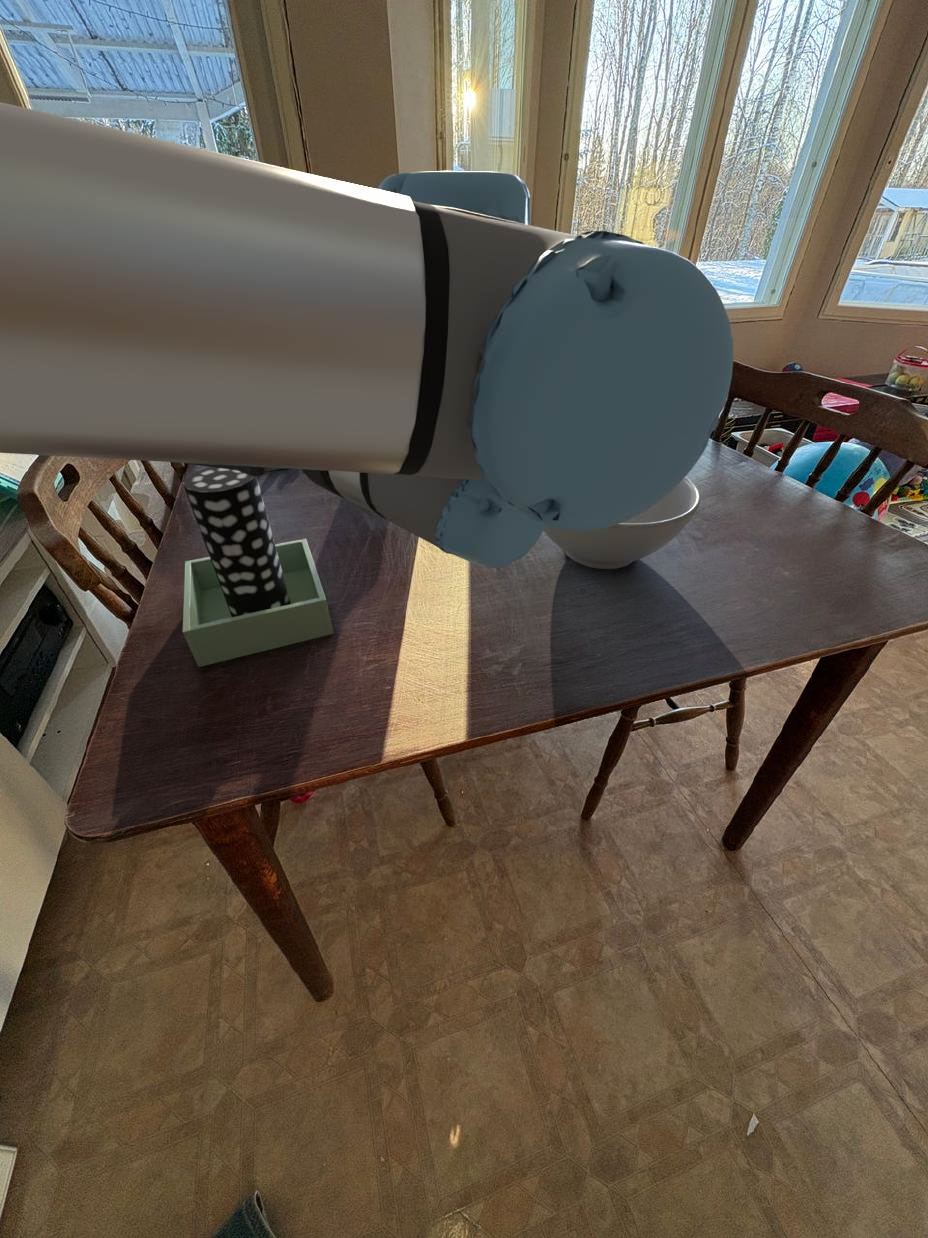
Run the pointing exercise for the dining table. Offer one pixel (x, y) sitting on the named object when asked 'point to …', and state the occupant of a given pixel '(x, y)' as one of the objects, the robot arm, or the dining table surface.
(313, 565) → the bin
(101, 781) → the dining table surface
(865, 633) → the dining table surface
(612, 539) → the decorative bowl
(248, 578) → the white-spotted black cylinder
